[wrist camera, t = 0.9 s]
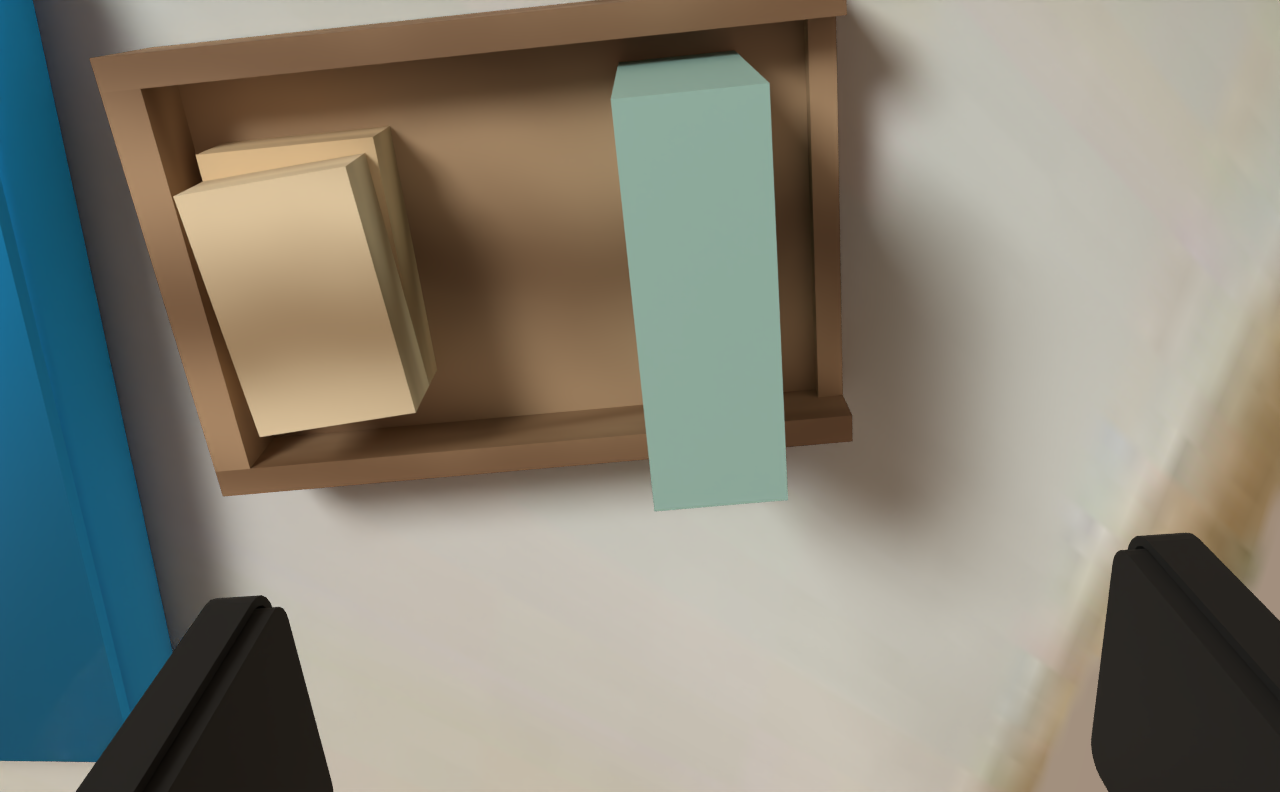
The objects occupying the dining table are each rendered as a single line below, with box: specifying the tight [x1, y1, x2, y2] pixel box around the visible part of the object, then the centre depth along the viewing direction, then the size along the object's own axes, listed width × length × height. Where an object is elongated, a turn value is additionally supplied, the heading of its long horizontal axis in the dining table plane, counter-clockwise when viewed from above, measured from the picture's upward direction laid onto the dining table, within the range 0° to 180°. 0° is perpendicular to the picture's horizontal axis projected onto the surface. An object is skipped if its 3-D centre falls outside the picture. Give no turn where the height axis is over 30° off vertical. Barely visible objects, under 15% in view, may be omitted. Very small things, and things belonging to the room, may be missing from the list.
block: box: [611, 50, 788, 511], centre depth 24 cm, size 9×3×8 cm, turn 6°
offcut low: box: [196, 126, 437, 385], centre depth 27 cm, size 7×4×2 cm, turn 6°
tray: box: [89, 0, 853, 496], centre depth 27 cm, size 12×18×3 cm, turn 96°
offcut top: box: [173, 153, 429, 437], centre depth 25 cm, size 6×4×2 cm, turn 10°
